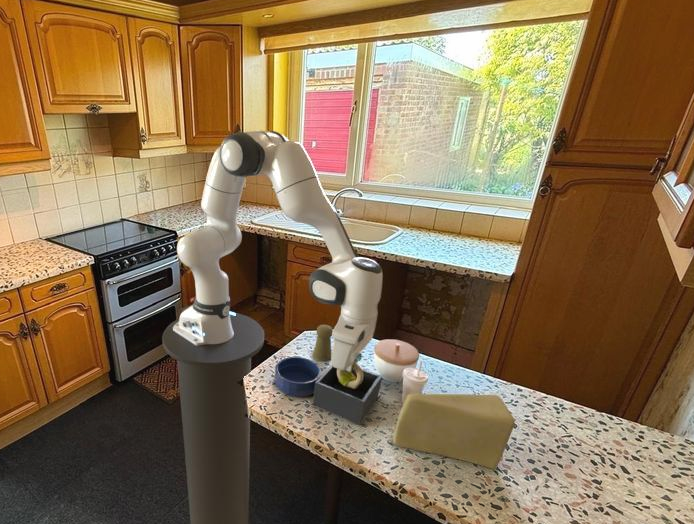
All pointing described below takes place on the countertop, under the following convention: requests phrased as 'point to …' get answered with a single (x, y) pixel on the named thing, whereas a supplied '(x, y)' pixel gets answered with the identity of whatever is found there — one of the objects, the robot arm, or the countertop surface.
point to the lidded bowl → (394, 358)
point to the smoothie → (413, 381)
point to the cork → (323, 343)
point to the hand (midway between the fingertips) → (350, 367)
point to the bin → (346, 395)
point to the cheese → (455, 426)
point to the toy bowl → (297, 376)
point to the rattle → (351, 375)
